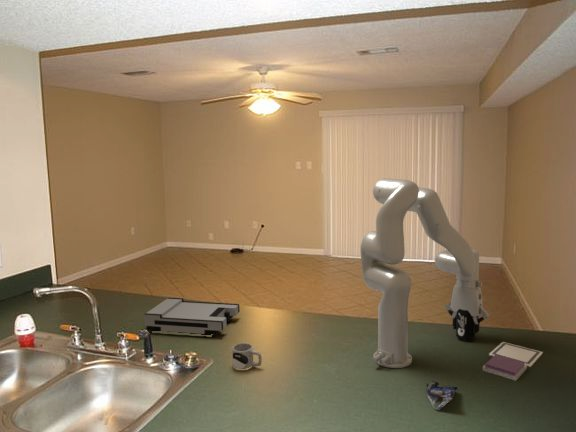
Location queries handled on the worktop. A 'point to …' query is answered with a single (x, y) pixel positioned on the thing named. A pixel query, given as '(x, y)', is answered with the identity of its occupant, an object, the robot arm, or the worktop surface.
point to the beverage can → (464, 325)
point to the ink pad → (505, 367)
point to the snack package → (440, 393)
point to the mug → (244, 356)
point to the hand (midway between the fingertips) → (465, 330)
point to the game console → (190, 316)
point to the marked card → (517, 353)
